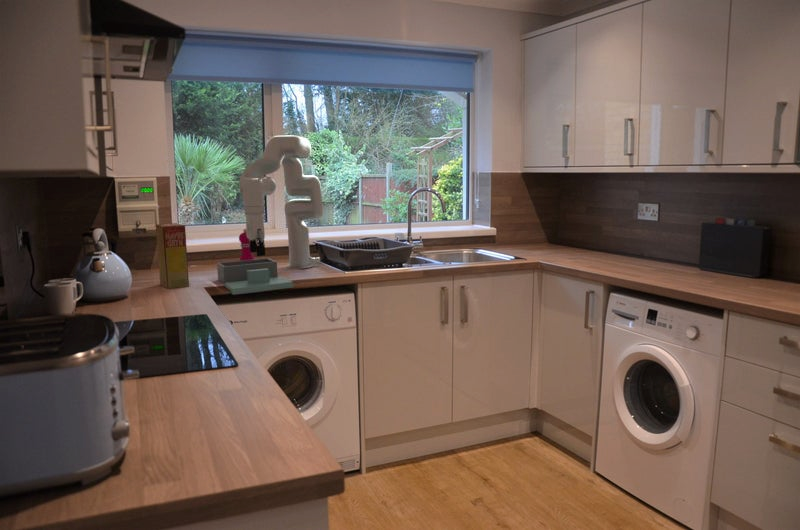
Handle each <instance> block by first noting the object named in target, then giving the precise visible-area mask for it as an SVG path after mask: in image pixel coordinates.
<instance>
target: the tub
mask: <svg viewBox="0 0 800 530" xmlns="http://www.w3.org/2000/svg"><path fill="white" fill-rule="evenodd" d="M265 268H267V269H269V278H274V277H279V276H278V261H276V260H274V259H272V258H269V257H267V258H257V259H255V258H254V260H243V261H240V260H234V261H224V262H222V261H221V262H216V269H217V271H216V272H217V280H218V281H219V282H220V283H222V284H224V285H225V283H229V282H238V281H247V270H255V269H265Z"/></svg>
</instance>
